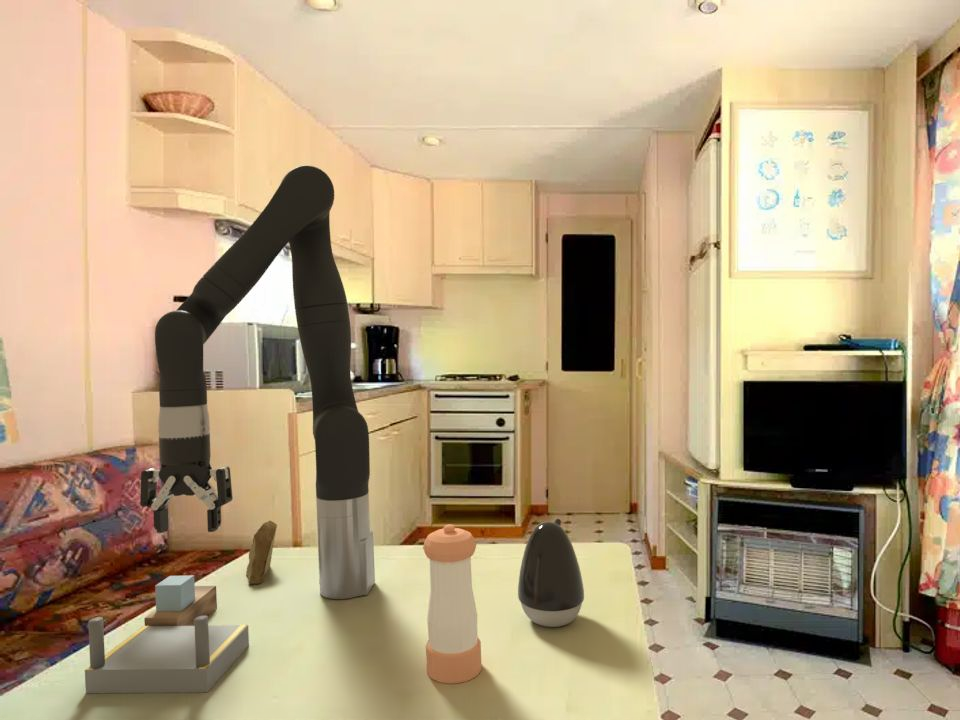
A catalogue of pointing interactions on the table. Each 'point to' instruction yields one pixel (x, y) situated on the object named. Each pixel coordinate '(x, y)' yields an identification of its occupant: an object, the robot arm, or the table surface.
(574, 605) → the dark grey egg shape
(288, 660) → the table surface
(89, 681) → the dock
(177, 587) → the pale blue cube
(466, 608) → the salt shaker
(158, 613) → the pallet
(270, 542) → the rock
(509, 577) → the table surface
